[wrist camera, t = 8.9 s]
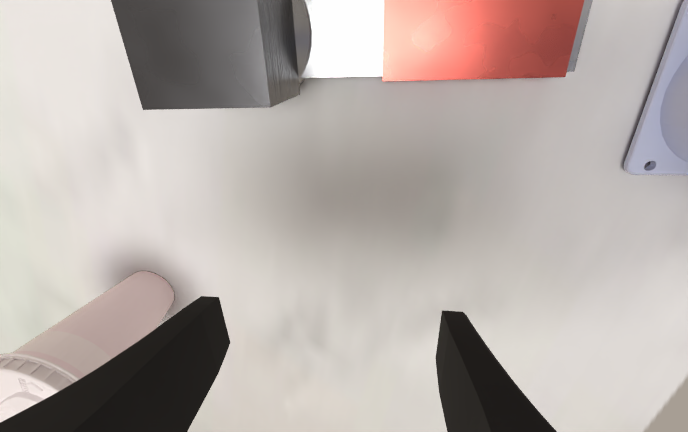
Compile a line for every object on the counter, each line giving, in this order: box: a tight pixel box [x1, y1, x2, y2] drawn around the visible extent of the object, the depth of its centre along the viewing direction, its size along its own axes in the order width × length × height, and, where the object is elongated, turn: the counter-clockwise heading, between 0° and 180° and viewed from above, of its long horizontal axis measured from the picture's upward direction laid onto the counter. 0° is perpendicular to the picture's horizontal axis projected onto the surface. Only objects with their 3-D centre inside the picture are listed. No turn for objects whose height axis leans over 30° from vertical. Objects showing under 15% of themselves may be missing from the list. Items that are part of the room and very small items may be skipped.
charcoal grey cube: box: [111, 0, 300, 110], centre depth 13 cm, size 5×5×4 cm
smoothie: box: [0, 271, 174, 422], centre depth 19 cm, size 6×6×14 cm
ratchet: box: [292, 0, 592, 85], centre depth 14 cm, size 18×6×4 cm, turn 92°
